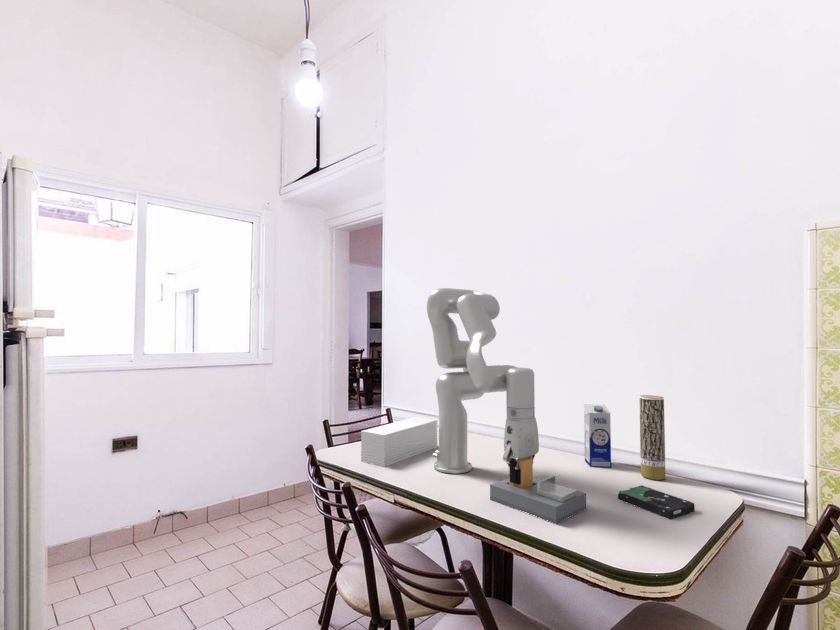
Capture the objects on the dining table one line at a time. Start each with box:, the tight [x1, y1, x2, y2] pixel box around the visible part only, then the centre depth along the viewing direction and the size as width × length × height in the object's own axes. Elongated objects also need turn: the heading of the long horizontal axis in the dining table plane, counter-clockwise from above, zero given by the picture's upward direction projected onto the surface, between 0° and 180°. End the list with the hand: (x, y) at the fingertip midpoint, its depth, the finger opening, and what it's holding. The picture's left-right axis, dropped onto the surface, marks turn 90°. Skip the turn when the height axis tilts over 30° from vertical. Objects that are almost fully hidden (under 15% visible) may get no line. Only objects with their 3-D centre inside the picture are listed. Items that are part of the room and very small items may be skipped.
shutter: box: [537, 475, 578, 502], centre depth 111 cm, size 7×7×3 cm
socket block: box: [489, 476, 587, 524], centre depth 115 cm, size 20×14×4 cm
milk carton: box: [583, 403, 612, 468], centre depth 151 cm, size 7×7×20 cm
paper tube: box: [639, 394, 666, 481], centre depth 137 cm, size 7×7×25 cm
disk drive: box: [617, 485, 696, 520], centre depth 114 cm, size 10×3×15 cm
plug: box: [508, 457, 534, 489], centre depth 119 cm, size 4×4×8 cm
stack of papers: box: [360, 416, 438, 468], centre depth 163 cm, size 32×11×11 cm, turn 144°
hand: (520, 480), depth 119 cm, fingers closed on plug, 4 cm apart
